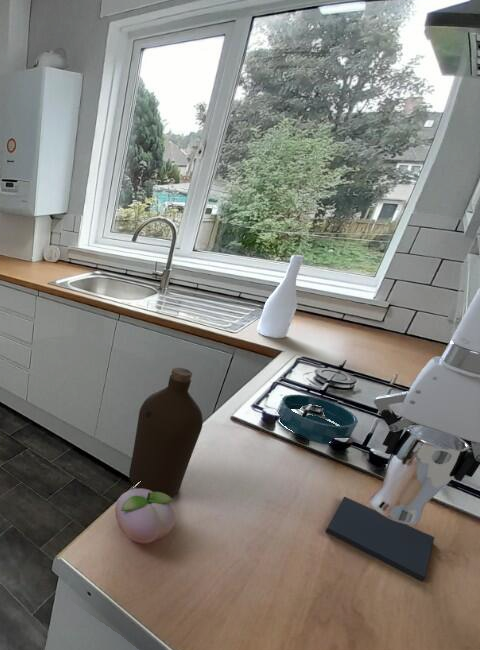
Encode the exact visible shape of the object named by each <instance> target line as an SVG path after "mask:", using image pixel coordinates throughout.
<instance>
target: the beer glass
mask: <svg viewBox="0 0 480 650" xmlns="http://www.w3.org/2000/svg"><path fill="white" fill-rule="evenodd" d="M469 450H470V445H469V443H467V441H465V440H464V439H462V438H459V437H456V436H453V435H449V434H446V433H443V432H440V431H437V430H434V429H431V428H428V427H425V426H422V425H419V424H412V425H410V426H408V427H406V428H405V430H404V431H403V433H402V435H401V437H400V439H399V441H398V443H397V444H396V446H395V448H394V450H393V452H392V453H391V454H389V457H388V461H387V464H386V469H385V472H384V473H385V474H384V477H383V481H382V483H381V485H380V487H379V488H378V489H377V490H376V492H374V493H373V495H372V496H371V497H370V498H369V500H368V502H369V505H370V506H371V507H370V508H371V509H373V510H375V511H376V512H378V513H379V514H381V515H382V516H384V517H386V518H388V519H390V520H392V521H394V522H397V523H400V524H405V525H408V526H416V525H418V524H419V523H420V522H421V519H422V515H423V512H424V509H425V507H426V505H427V504H428V503H429V501H431V500H432V499H433V497H435V496H436V495H437V494H439V492H440V491H441V490H443V489H444V488H445V487H446V486H447V485H448V484H449V483H450V482H451V481H452V480H453V479H454V476H455V474H456V473H457V471H458V469H459V468H460V466H461V464H462V462H463V460H464V458H465V456H466V454H467V452H468V451H469Z"/></svg>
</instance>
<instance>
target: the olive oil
mask: <svg viewBox="0 0 480 650" xmlns="http://www.w3.org/2000/svg"><path fill="white" fill-rule="evenodd" d="M171 370H172V371H171V374H170V375H169V378H168V384H167V386H165V388H162V389H160V390H158V391H156V392H154V393H152V394H150V395H148V397H146V399H145V400H144V401H143V403H142V404H141V406H140V408H139V411H138V419H137V425H136V431H135V436H134V437H135V438H134V443H133V450H132V455H131V456H132V457H131V460H130V461H131V462H130V467H129V472H128V479H129V481H130V482H131V484H132V485H133V486H134V487H135V485H136V484H137V483H138V482H140V481H141V482H140V483H139V484H138V485H137V486H136V487H135V489H138V488H141V489H147V490H150V491H152V492H161V493H164V494H166V495H168V496H170V497H171V498H173V497H175V496H177V495H178V493H179V492H180V490H181V487H182V484H183V480H184V478H185V475H186V471H187V469H188V466H189V465H190V464H189V463H190V461H191V458H192V456H193V453H194V450H195V447H196V445H197V442H198V440H199V437H200V435H201V432H202V429H203V425H204V424H203V421H204V420H203V414H202V410H201V408H200V406H199V405H198V403H197V402H196V401H195V399H194V398H193V397H192V395H191V394H190V393H189V388H190V386H191V382H192V379H191V378H192V376H193V372H192V371H191V370H189V369H187V368H183V367H174V368H172V369H171Z"/></svg>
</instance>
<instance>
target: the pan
mask: <svg viewBox="0 0 480 650" xmlns="http://www.w3.org/2000/svg"><path fill="white" fill-rule="evenodd" d="M308 404H312V405H318V406H321V407H322V408H324V410H323V412H324V415H325V417H326V418H327V419H330V420H331V421H334V422H335V423H337V424H339V425H340V426H336V425H335V424H333V423H331V422H329V421H327V420H325V419H323V418H320V417H318V416H314V415H313V416H312V415H308V416H306V418H305V417H303V416H301V415H299V414H297V413H295V412H293V411H292V410H291V409H300V408H301V407H302V406H305V405H308ZM276 412H278V414H279V415H280V417H281V418H280V422H281V423H282V424H283V425H284V426H286V427H287V428H288V429H290V430H292V431H293V432H295V433H297V434H300V435H302V436H305V437H307V438H309V439H307V438H305V437H302V436H300V435H297V434H295V433H293V432H292V431H290V430H288V429H286V428H285V427H284V426H282V425H281V424H280V423H279V422H278V424H279V425H280V426H281V427H282V428H284V429H285V430H286V431H288V432H290V433H291V434H293V435H296V436H298V437H300V438H302V439H305V440H308V441H311V442H315V443H320V444H324V445H331V444H330V443H329V442H330V441H331V440H332V439H333V438H350V439H351V437H352V435H353V434H354V431H355V429H356V427H357V425H358V423H359V421H358V417H357V416H356V415H355V414H353V413H352V412H351V411H350V410H349V409H347V408H345V407H343V406H342V405H340V404H337V403H335V402H333V401H329V400H326V399H324V398H320V397H315V396H311V395H304V394H288V395H284V396H283V397H282V398H281V399H280V402H279V405H278V407H277V410H276Z"/></svg>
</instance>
